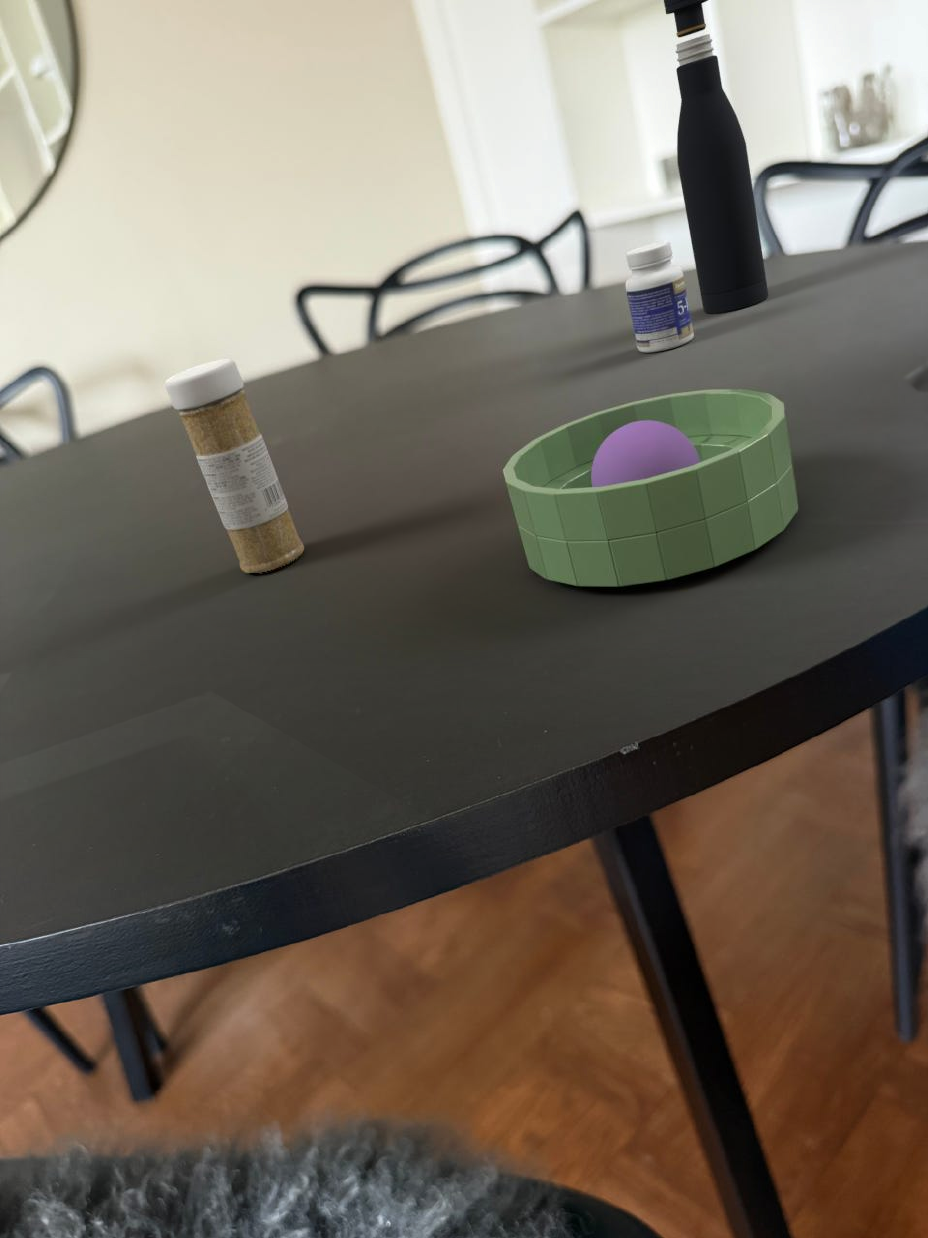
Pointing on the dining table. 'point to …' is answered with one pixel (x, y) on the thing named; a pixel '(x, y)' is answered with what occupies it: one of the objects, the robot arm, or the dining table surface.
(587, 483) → the bowl
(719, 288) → the black water bottle
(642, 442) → the ball
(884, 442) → the dining table surface
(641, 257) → the pill bottle
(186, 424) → the spice jar
